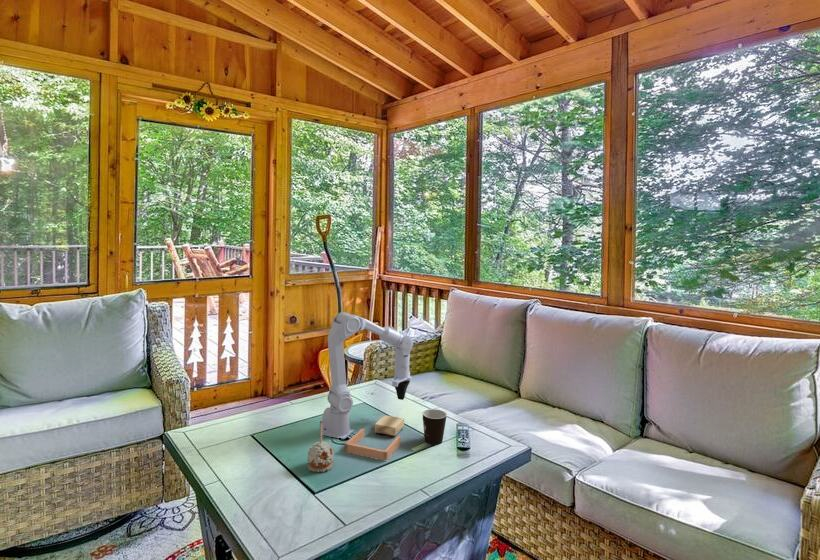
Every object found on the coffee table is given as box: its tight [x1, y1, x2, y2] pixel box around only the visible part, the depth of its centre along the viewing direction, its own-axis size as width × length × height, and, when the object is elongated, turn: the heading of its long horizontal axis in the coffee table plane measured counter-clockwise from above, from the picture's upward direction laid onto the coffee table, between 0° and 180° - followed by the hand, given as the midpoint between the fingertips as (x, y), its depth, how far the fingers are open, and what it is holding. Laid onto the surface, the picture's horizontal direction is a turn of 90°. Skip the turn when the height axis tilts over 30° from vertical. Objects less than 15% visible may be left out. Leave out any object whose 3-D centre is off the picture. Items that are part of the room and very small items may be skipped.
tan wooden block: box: [374, 414, 405, 438], centre depth 170 cm, size 8×9×4 cm
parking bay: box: [344, 428, 402, 461], centre depth 157 cm, size 15×13×3 cm
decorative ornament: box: [307, 419, 335, 473], centre depth 143 cm, size 8×8×15 cm
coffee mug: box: [422, 408, 448, 446], centre depth 165 cm, size 12×9×10 cm
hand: (400, 398), depth 180 cm, fingers closed
